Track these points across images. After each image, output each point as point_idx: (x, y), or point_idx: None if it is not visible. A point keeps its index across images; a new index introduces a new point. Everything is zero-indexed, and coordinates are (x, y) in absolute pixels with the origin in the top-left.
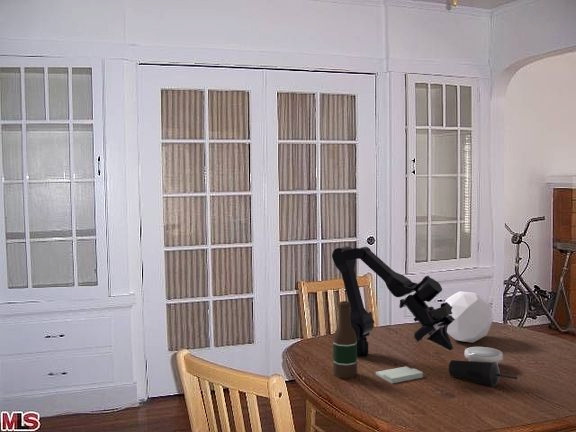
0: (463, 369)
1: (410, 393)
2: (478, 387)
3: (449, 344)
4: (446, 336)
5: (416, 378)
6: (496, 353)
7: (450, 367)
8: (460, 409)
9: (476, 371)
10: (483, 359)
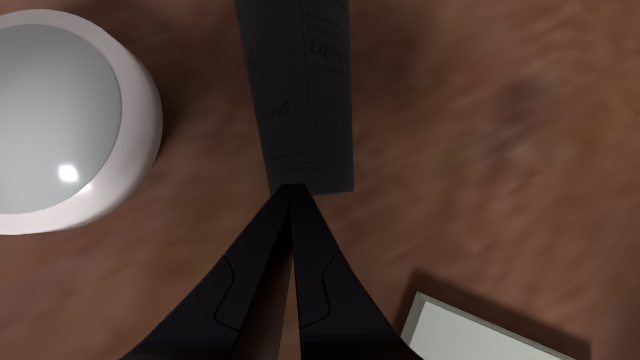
0: (350, 104)
1: (624, 232)
2: (364, 52)
3: (312, 204)
4: (261, 281)
5: (454, 307)
6: (15, 40)
7: (352, 181)
8: (611, 11)
9: (348, 31)
10: (142, 77)
